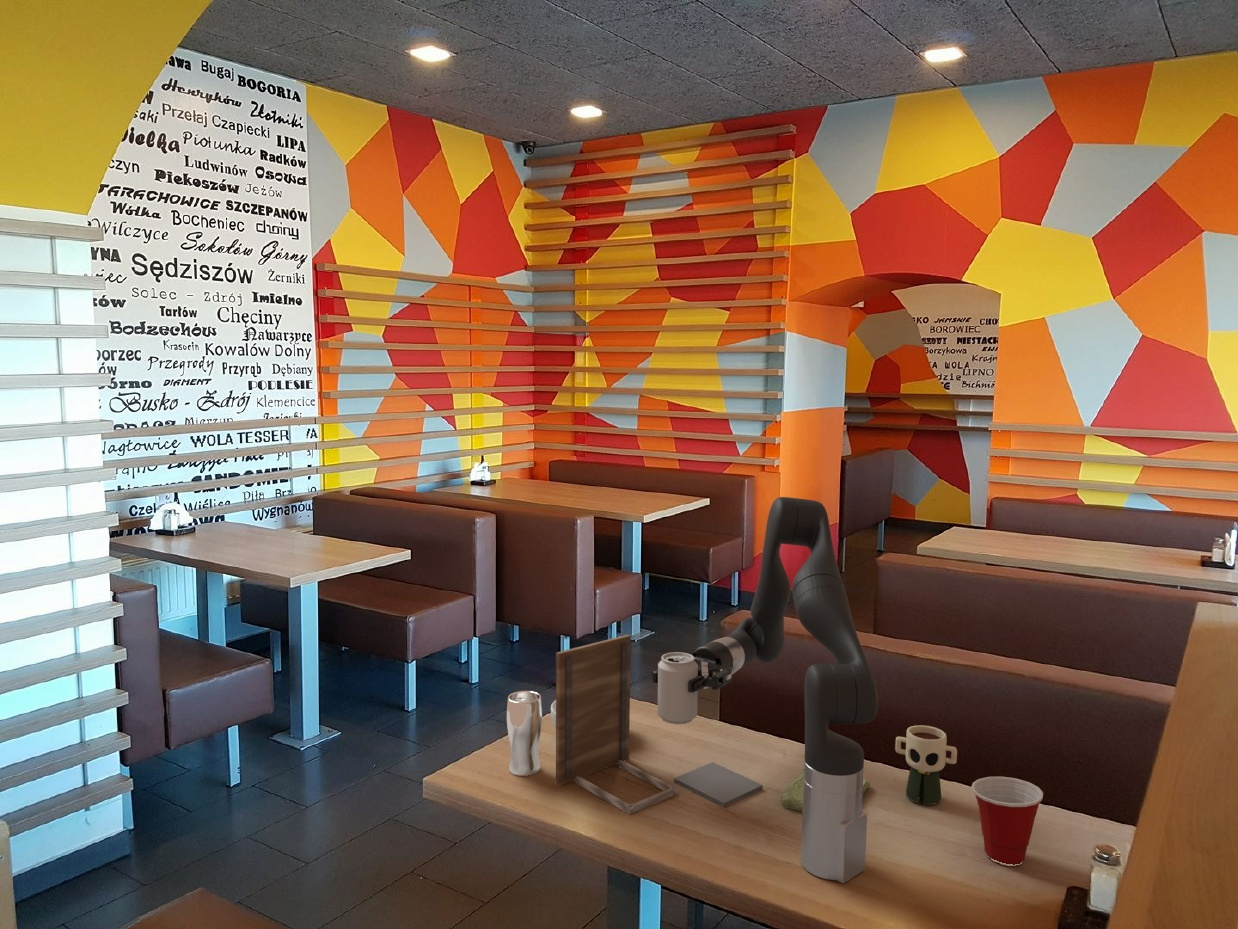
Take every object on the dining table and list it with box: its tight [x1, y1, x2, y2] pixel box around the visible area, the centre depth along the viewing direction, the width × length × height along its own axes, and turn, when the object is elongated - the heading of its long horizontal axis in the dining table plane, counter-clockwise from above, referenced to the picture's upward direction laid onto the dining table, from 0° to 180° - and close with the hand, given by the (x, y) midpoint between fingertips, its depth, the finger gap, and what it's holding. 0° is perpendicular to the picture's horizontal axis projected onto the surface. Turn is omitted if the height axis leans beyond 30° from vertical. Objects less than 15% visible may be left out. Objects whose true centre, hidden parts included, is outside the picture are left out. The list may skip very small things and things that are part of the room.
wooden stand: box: [555, 634, 678, 815], centre depth 168 cm, size 18×18×26 cm
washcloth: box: [780, 768, 871, 813], centre depth 167 cm, size 13×18×3 cm
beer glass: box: [506, 690, 543, 777], centre depth 176 cm, size 7×7×15 cm
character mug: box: [894, 725, 958, 805], centre depth 165 cm, size 11×7×13 cm, turn 63°
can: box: [657, 651, 699, 725], centre depth 167 cm, size 8×8×12 cm
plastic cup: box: [971, 776, 1044, 865], centre depth 146 cm, size 11×11×12 cm
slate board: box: [673, 761, 764, 808], centre depth 171 cm, size 13×11×1 cm
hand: (671, 682), depth 165 cm, fingers closed on can, 7 cm apart
